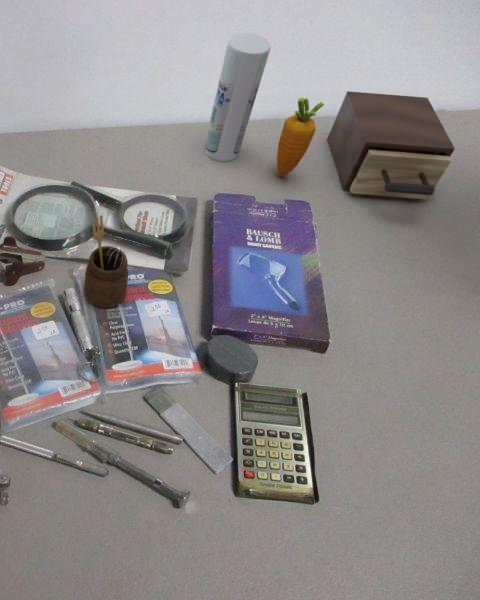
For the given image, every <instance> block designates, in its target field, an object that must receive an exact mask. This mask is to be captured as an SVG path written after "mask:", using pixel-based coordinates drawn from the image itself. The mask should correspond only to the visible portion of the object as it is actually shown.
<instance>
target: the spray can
mask: <svg viewBox="0 0 480 600" xmlns="http://www.w3.org/2000/svg"><path fill="white" fill-rule="evenodd" d="M271 47H272V46H271V43H270V41H269V40H268V39H266V38H265V37H263V36H262V35H258V34H254V33H250V32H241V33H236V34H232V36H229V38H228V41H227V44H226V49H225V54H224V59H223V63H222V67H221V71H220V74H219V75H220V76H219V80H218V84H217V89H216V93H215V96H214V97H215V98H214V103H213V106H212V111H211V116H210V120H209V123H208V128H207V132H206V137H205V141H204V145H203V146H204V147H203V150H204V153H205V154H206V156H207V157H209V158H210V159H212V160H214V161H218V162H231V161H234V160H235V159H236V158H237V157H238V155H239V154H240V150H241V147H242V144H243V141H244V139H245V135H246V131H247V127H248V125H249V122H250V118H251V114H252V111H253V107H254V105H255V102H256V99H257V95H258V92H259V88H260V84H261V82H262V78H263V74H264V72H265V69H266V64H267V61H268V58H269V55H270V52H271Z"/></svg>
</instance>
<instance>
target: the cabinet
mask: <svg viewBox="0 0 480 600" xmlns="http://www.w3.org/2000/svg"><path fill="white" fill-rule="evenodd" d="M326 140H327V143H328V146H329V150H330V152H331V155H332V159H333V162H334V166H335V169H336V172H337V176H338V179H339V183H340V185H341V188H342V191H345V192H347V191H349V192H351V191H350V187H351V185H352V183H353V180H354V178H355V176H356V174H357V172H358V169H359V167H360V165H361V163H362V161H363V159H364V157H365V155H366V153H367V151H368V149H369V147H378V148H391V149H403V150H415V151H428V152H440V153H439V155H441V156H449V157H450V158H451V156H452V155H453V153H454V151H455V150H456V148H455V146H454V144H453V143H452V141H451V139H450V137H449V135H448V133H447V132H446V129H445V128H444V126H443V124H442V122H441V120H440V118H439V116H438V114H437V113H436V111H435V109H434V107H433V106H432V103H431V101H430V99H429V98H428V97H425V96H412V95H398V94H386V93H385V94H384V93H373V92H362V91H361V92H360V91H348V90H347V91H346V93H345V96H344V98H343V101H342V103H341V106H340V107H339V110H338V113H337V115H336V117H335V119H334V121H333V124H332V127H331V129H330V132H329V134H328V136H327V138H326Z"/></svg>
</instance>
